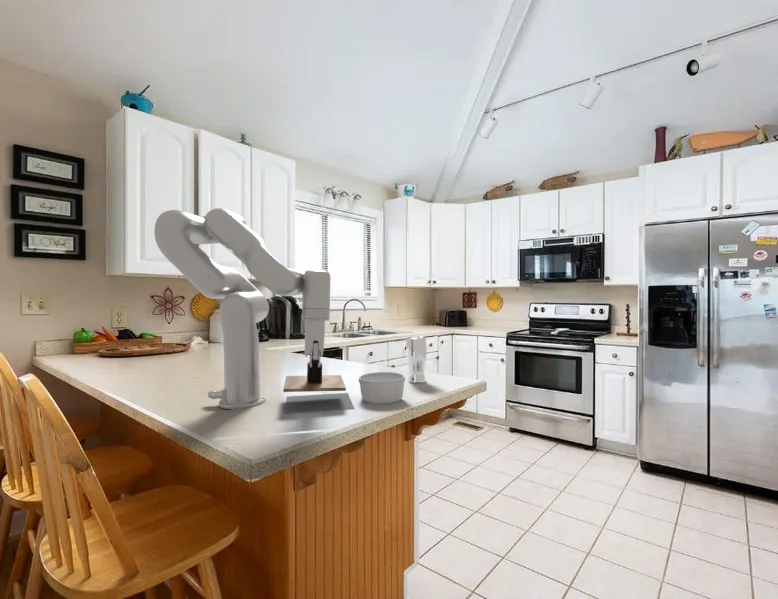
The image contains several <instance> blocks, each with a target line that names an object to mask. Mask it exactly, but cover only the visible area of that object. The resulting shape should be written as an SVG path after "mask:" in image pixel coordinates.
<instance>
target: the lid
mask: <svg viewBox="0 0 778 599" xmlns="http://www.w3.org/2000/svg"><path fill="white" fill-rule="evenodd" d="M306 365H307V367H306V370H307V371H306V375H286V376H285V378H284V383H283V384H284V385H283V393H294V392H295V393H297V392H300V393H301V392H306V393H307V392H346V391H347V387H346V385H345V382H344V379H343V377H342V375H341V374H340V375H339V374H338V375H336V374H331V375H323V362H322V361H320V367H321V381H320V382H313V383H310V382H309V368H310V361H309V362H307V364H306Z"/></svg>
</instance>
